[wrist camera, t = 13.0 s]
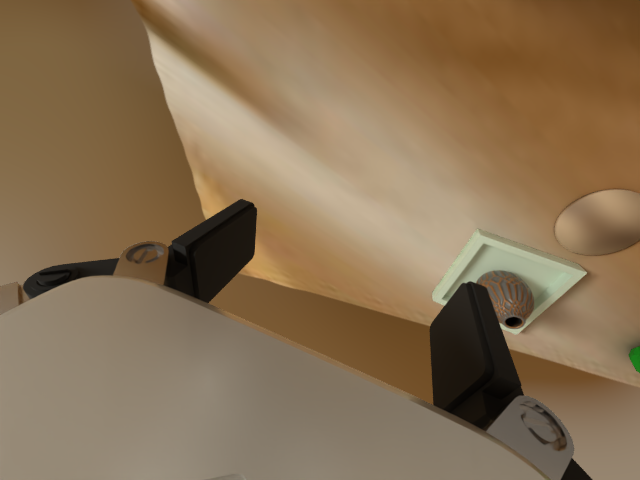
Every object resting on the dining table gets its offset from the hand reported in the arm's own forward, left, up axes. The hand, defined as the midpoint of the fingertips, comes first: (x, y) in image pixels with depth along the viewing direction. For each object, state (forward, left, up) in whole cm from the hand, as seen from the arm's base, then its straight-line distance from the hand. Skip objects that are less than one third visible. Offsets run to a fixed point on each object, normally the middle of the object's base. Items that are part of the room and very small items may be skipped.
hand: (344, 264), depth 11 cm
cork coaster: (+1, +28, -29) cm, 40 cm away
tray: (+14, +23, -29) cm, 40 cm away
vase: (+13, +22, -29) cm, 39 cm away
